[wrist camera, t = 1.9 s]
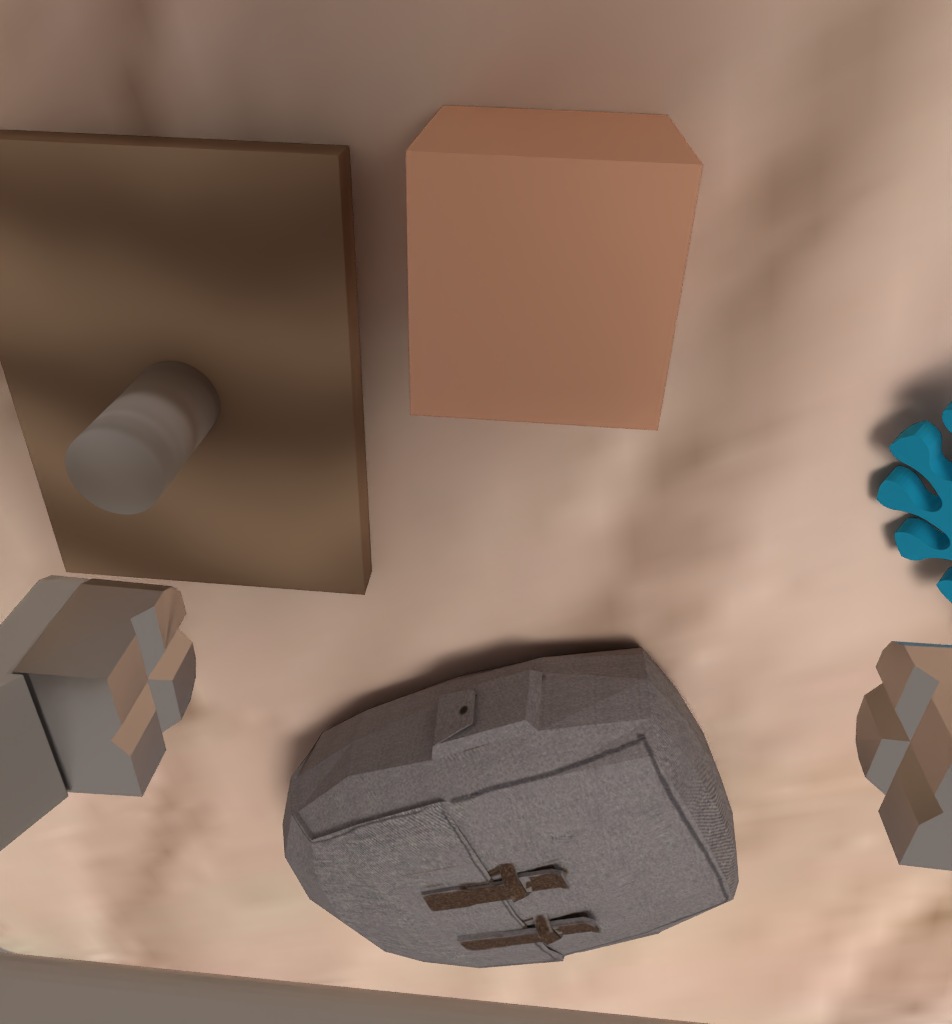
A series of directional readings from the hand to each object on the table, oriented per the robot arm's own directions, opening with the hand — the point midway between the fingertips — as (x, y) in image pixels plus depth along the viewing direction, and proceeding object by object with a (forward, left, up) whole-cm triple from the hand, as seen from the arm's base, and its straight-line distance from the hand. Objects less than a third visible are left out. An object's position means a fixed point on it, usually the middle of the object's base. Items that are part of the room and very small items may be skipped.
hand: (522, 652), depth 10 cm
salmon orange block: (0, 0, -19) cm, 19 cm away
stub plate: (+6, -12, -19) cm, 23 cm away
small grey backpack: (+25, 0, -19) cm, 32 cm away
